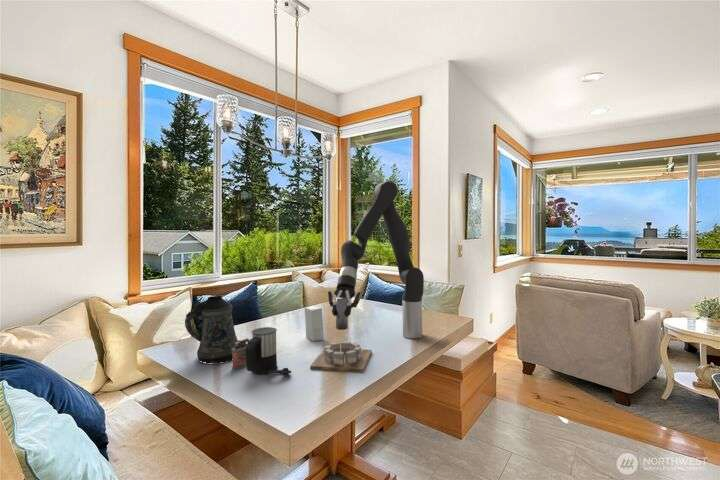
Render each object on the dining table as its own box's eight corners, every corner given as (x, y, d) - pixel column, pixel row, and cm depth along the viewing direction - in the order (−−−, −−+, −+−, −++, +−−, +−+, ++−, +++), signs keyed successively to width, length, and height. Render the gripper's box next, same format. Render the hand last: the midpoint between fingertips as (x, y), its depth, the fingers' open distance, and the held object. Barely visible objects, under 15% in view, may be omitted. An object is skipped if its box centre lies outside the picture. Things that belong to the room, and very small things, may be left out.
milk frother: (257, 364, 132) (256, 326, 131) (297, 364, 131) (297, 326, 130) (242, 381, 117) (241, 338, 117) (288, 381, 117) (287, 338, 116)
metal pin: (348, 326, 136) (348, 296, 136) (346, 330, 131) (346, 299, 131) (337, 326, 137) (337, 296, 136) (334, 329, 132) (334, 298, 132)
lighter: (236, 370, 126) (235, 343, 126) (230, 368, 128) (229, 342, 128) (253, 363, 133) (252, 337, 133) (247, 361, 135) (246, 336, 135)
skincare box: (324, 339, 161) (323, 308, 160) (312, 341, 158) (311, 309, 157) (316, 335, 168) (315, 305, 167) (304, 337, 165) (304, 306, 164)
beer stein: (248, 353, 143) (247, 294, 143) (207, 370, 127) (205, 303, 126) (223, 347, 152) (221, 291, 151) (181, 362, 135) (179, 299, 134)
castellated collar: (371, 352, 142) (371, 340, 142) (363, 372, 123) (362, 358, 123) (325, 350, 146) (325, 338, 146) (310, 369, 127) (309, 355, 126)
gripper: (329, 274, 142) (320, 309, 131) (362, 274, 140) (357, 310, 128) (332, 284, 148) (324, 319, 136) (365, 285, 145) (360, 321, 133)
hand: (340, 315), depth 132 cm, fingers closed on metal pin, 4 cm apart
